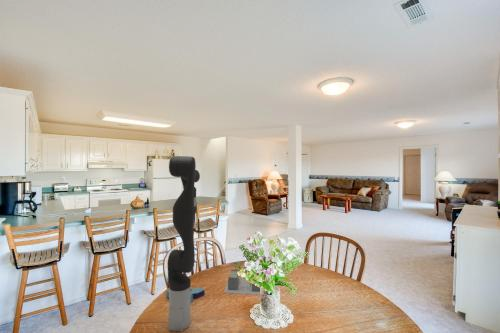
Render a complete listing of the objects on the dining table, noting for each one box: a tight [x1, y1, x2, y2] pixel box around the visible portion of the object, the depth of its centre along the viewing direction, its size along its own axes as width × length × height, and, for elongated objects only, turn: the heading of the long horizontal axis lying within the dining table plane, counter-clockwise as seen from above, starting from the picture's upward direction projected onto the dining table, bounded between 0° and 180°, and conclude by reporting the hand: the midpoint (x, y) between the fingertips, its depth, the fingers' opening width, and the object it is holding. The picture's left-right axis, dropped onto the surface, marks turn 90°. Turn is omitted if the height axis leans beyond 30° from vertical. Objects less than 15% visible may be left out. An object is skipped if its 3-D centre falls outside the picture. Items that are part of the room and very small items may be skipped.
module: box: [239, 276, 251, 287], centre depth 144 cm, size 4×6×8 cm, turn 85°
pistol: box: [165, 286, 206, 304], centre depth 135 cm, size 4×16×15 cm
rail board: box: [224, 269, 261, 296], centre depth 144 cm, size 14×22×8 cm, turn 85°
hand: (189, 233), depth 141 cm, fingers open, 8 cm apart
